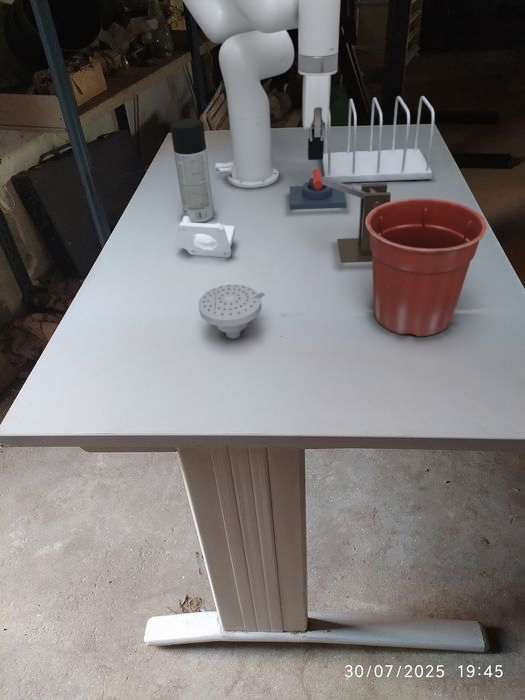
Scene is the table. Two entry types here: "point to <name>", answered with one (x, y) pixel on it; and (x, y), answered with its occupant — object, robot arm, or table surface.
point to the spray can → (192, 169)
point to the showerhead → (230, 307)
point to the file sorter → (378, 154)
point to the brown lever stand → (363, 226)
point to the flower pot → (421, 261)
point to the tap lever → (337, 185)
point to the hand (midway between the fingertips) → (315, 158)
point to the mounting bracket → (205, 238)
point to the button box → (315, 198)
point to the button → (311, 185)
